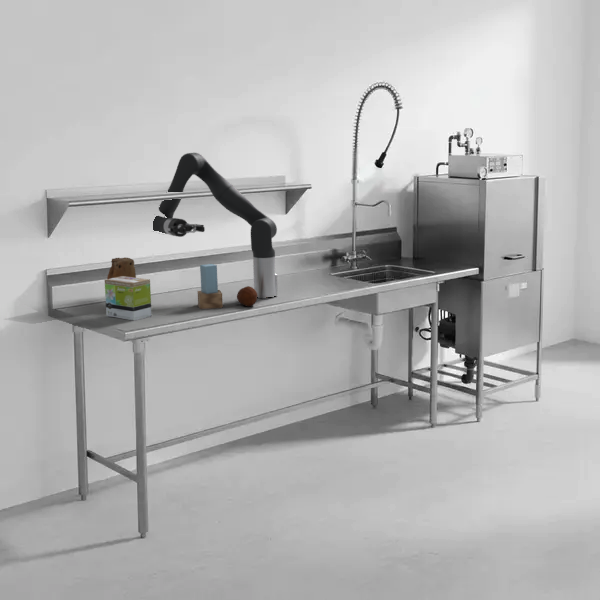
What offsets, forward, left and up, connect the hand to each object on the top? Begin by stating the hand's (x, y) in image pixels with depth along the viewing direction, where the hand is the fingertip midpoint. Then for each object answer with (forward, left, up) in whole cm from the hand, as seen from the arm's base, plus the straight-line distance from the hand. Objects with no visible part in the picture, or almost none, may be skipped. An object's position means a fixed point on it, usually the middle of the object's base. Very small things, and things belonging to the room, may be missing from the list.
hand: (194, 230), depth 363 cm
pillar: (0, +11, -24) cm, 27 cm away
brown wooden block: (0, +11, -30) cm, 32 cm away
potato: (-13, +19, -30) cm, 38 cm away
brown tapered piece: (+29, -9, -30) cm, 43 cm away
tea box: (+35, +10, -30) cm, 47 cm away
